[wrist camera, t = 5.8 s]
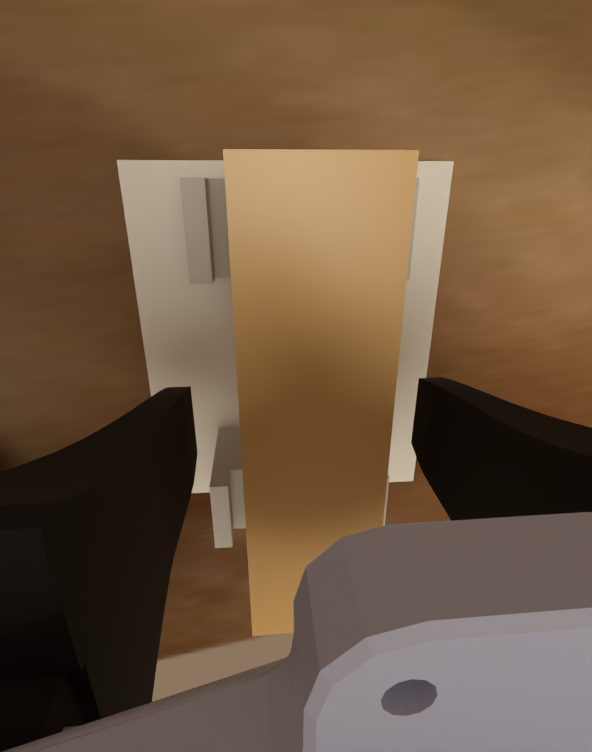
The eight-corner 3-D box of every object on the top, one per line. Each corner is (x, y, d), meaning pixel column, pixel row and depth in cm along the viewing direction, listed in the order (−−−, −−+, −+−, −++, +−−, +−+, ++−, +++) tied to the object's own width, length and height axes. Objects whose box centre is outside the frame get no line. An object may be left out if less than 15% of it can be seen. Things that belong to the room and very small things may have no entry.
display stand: (169, 480, 20) (144, 565, 15) (125, 161, 15) (67, 149, 10) (406, 468, 21) (448, 545, 16) (441, 163, 16) (518, 151, 11)
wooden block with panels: (253, 524, 16) (252, 636, 12) (234, 163, 11) (223, 149, 7) (345, 518, 16) (374, 626, 12) (363, 164, 12) (422, 150, 8)
